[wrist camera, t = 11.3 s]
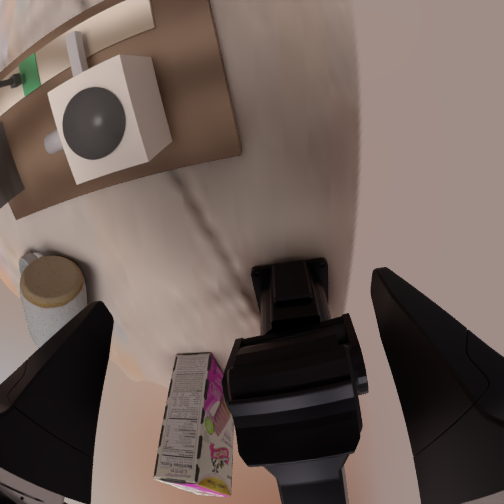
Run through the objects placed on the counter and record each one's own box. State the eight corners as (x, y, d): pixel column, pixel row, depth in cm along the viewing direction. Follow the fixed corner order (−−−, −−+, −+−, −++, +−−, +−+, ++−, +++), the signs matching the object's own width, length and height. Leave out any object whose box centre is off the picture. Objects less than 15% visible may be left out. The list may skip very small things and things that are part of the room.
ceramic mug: (97, 263, 25) (60, 320, 18) (99, 315, 29) (74, 368, 23) (21, 233, 23) (-21, 277, 17) (31, 286, 27) (1, 329, 21)
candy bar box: (238, 392, 38) (233, 497, 24) (206, 393, 39) (195, 494, 25) (212, 350, 32) (197, 486, 18) (174, 352, 32) (149, 479, 19)
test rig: (241, 151, 19) (234, 190, 13) (21, 215, 21) (-20, 255, 16) (202, -31, 11) (175, -73, 5) (-18, 95, 13) (-69, 116, 8)
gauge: (172, 141, 17) (147, 162, 13) (79, 171, 18) (43, 198, 14) (140, 6, 11) (106, -9, 7) (47, 56, 12) (4, 61, 8)
